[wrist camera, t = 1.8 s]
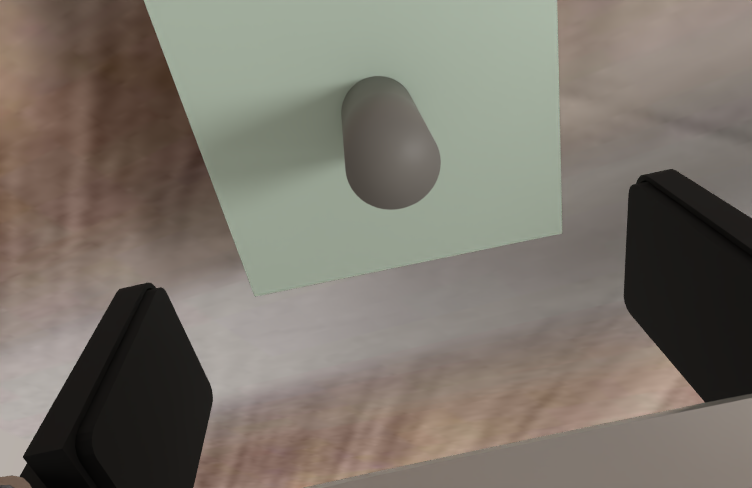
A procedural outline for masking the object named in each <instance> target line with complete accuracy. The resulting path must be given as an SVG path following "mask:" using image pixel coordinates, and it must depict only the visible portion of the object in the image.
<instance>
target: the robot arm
mask: <svg viewBox="0 0 752 488" xmlns="http://www.w3.org/2000/svg"><path fill="white" fill-rule="evenodd" d="M624 301H625V304H626V307H627V309H628V311H629V313H630V314H631V315H632V317H633V318H634V319H635V320H636V321H637V322H638V324H639V325H640V326H641V327H642V328H643V330H644V331H645V332H646V333H647V334H648V335H649V337H650V338H651V339H652V340H653V341H654V343H655V344H656V345H657V346H658V347H659V348H660V350H661V351H662V352H663V353H664V354H665V356H666V357H667V358H668V359H669V360H670V361H671V363H672V364H673V365H674V366H675V367H676V369H677V370H678V371H679V372H680V373H681V374H682V376H683V377H684V378H685V379H686V380H687V382H688V383H689V384H690V385H691V386H692V387H693V389H694V390H695V391H696V392H697V393H698V394H699V396H700V397H701V398H702V399H703V400H704V402H705V403H701V404H697V405H692V406H687V407H682V408H677V409H672V410H668V411H663V412H658V413H653V414H648V415H643V416H639V417H634V418H629V419H624V420H619V421H614V422H610V423H605V424H600V425H595V426H590V427H585V428H581V429H576V430H571V431H566V432H561V433H556V434H552V435H547V436H542V437H537V438H533V439H528V440H523V441H519V442H514V443H509V444H504V445H500V446H495V447H490V448H486V449H481V450H476V451H471V452H467V453H462V454H457V455H453V456H448V457H443V458H439V459H434V460H429V461H424V462H420V463H415V464H410V465H406V466H401V467H396V468H392V469H387V470H382V471H378V472H373V473H368V474H364V475H359V476H355V477H350V478H345V479H341V480H336V481H332V482H327V483H323V484H318V485H313V486H309V487H304V488H752V218H750V217H749V216H747V215H745V214H744V213H742V212H741V211H739V210H737V209H736V208H734V207H733V206H731V205H730V204H728V203H726V202H725V201H723V200H722V199H720V198H718V197H717V196H715V195H714V194H712V193H711V192H709V191H707V190H706V189H704V188H703V187H701V186H699V185H698V184H696V183H695V182H693V181H692V180H690V179H688V178H687V177H685V176H684V175H682V174H680V173H679V172H677V171H676V170H673V169H669V170H664V171H660V172H655V173H650V174H646V175H641V176H640V177H639V178H638V180H637V183H636V184H634V185H632V186H631V187H630V189H629V198H628V219H627V239H626V260H625V281H624ZM212 402H213V395H212V389H211V386H210V383H209V381H208V379H207V377H206V375H205V373H204V370H203V368H202V366H201V364H200V362H199V360H198V358H197V356H196V354H195V351H194V349H193V347H192V345H191V343H190V341H189V339H188V337H187V335H186V333H185V330H184V328H183V326H182V324H181V322H180V320H179V318H178V316H177V314H176V312H175V309H174V307H173V305H172V303H171V301H170V299H169V297H168V295H167V293H166V291H165V290H164V289H163V288H161V287H160V288H156V287H155V286H154V285H153V284H151V283H145V284H140V285H135V286H131V287H126V288H122V289H119V290H118V291H117V293H116V295H115V296H114V298H113V300H112V302H111V303H110V305H109V307H108V309H107V310H106V312H105V314H104V316H103V317H102V319H101V321H100V323H99V324H98V326H97V328H96V330H95V331H94V333H93V335H92V337H91V338H90V340H89V342H88V344H87V345H86V347H85V349H84V351H83V352H82V354H81V356H80V358H79V359H78V361H77V363H76V365H75V366H74V368H73V370H72V372H71V373H70V375H69V377H68V379H67V380H66V382H65V384H64V386H63V387H62V389H61V391H60V393H59V394H58V396H57V398H56V400H55V401H54V403H53V405H52V407H51V408H50V410H49V412H48V414H47V415H46V417H45V419H44V421H43V422H42V424H41V426H40V428H39V429H38V431H37V433H36V435H35V436H34V438H33V440H32V442H31V443H30V445H29V447H28V449H27V450H26V452H25V454H24V456H23V458H24V459H25V461H26V462H27V464H26V466H25V468H24V470H23V472H22V473H21V475H20V477H17V476H6V477H0V488H193V487H194V482H195V478H196V473H197V469H198V465H199V460H200V456H201V451H202V447H203V442H204V438H205V434H206V429H207V425H208V420H209V416H210V411H211V407H212Z"/></svg>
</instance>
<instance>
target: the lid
mask: <svg viewBox="0 0 752 488" xmlns="http://www.w3.org/2000/svg"><path fill="white" fill-rule="evenodd" d="M144 2H145V5H146V8H147V10H148V13H149V16H150V18H151V21H152V24H153V26H154V29H155V32H156V34H157V37H158V40H159V42H160V45H161V48H162V50H163V53H164V56H165V58H166V61H167V64H168V66H169V69H170V72H171V74H172V77H173V80H174V82H175V85H176V88H177V90H178V93H179V96H180V98H181V101H182V104H183V106H184V109H185V112H186V114H187V117H188V120H189V122H190V125H191V128H192V130H193V133H194V136H195V138H196V141H197V144H198V146H199V149H200V152H201V154H202V157H203V160H204V162H205V165H206V168H207V170H208V173H209V176H210V178H211V181H212V184H213V186H214V189H215V192H216V194H217V197H218V200H219V203H220V205H221V208H222V211H223V213H224V216H225V219H226V221H227V224H228V227H229V229H230V232H231V235H232V237H233V240H234V243H235V245H236V248H237V251H238V253H239V256H240V259H241V261H242V264H243V267H244V269H245V272H246V275H247V277H248V280H249V283H250V285H251V288H252V291H253V293H254V296H255V297H256V296H261V295H266V294H271V293H276V292H281V291H285V290H290V289H295V288H300V287H305V286H310V285H315V284H319V283H324V282H329V281H334V280H339V279H344V278H349V277H354V276H358V275H363V274H368V273H373V272H378V271H383V270H388V269H392V268H397V267H402V266H407V265H412V264H417V263H422V262H426V261H431V260H436V259H441V258H446V257H451V256H456V255H460V254H465V253H470V252H475V251H480V250H485V249H490V248H494V247H499V246H504V245H509V244H514V243H519V242H524V241H528V240H533V239H538V238H543V237H548V236H553V235H558V234H562V196H561V152H560V107H559V63H558V19H557V0H144Z"/></svg>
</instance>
